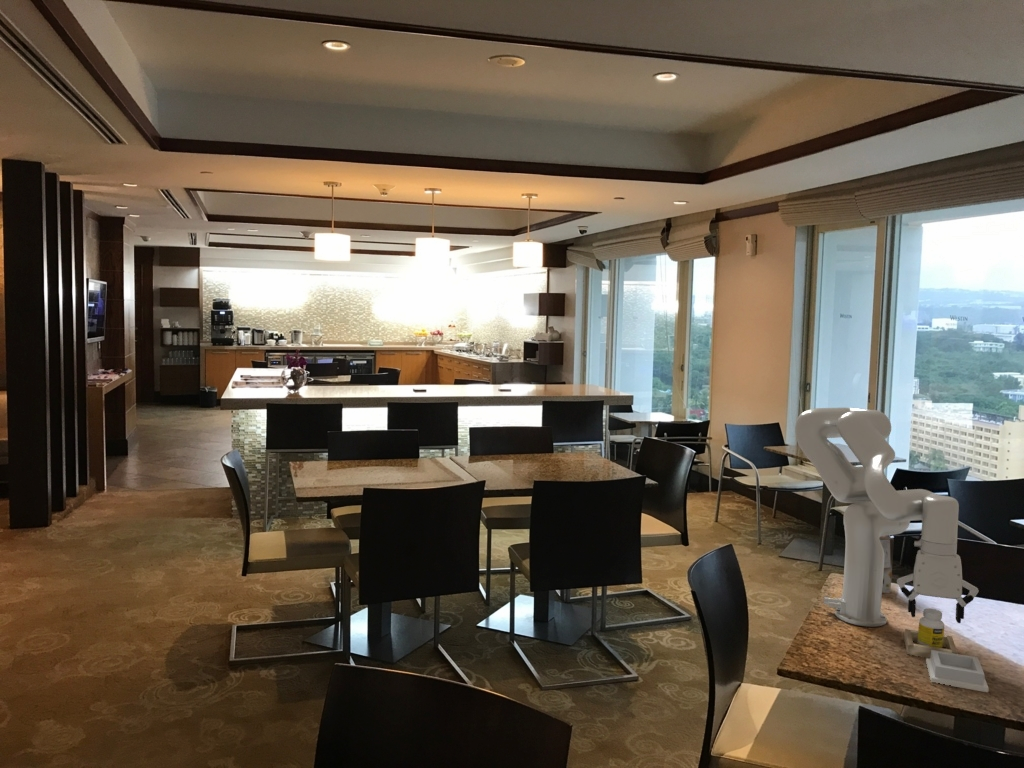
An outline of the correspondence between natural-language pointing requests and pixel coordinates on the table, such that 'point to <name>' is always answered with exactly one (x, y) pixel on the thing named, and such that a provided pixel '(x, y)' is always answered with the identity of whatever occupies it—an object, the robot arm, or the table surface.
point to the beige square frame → (926, 650)
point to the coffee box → (887, 562)
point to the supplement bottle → (931, 628)
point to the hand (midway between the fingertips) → (935, 618)
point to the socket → (956, 670)
